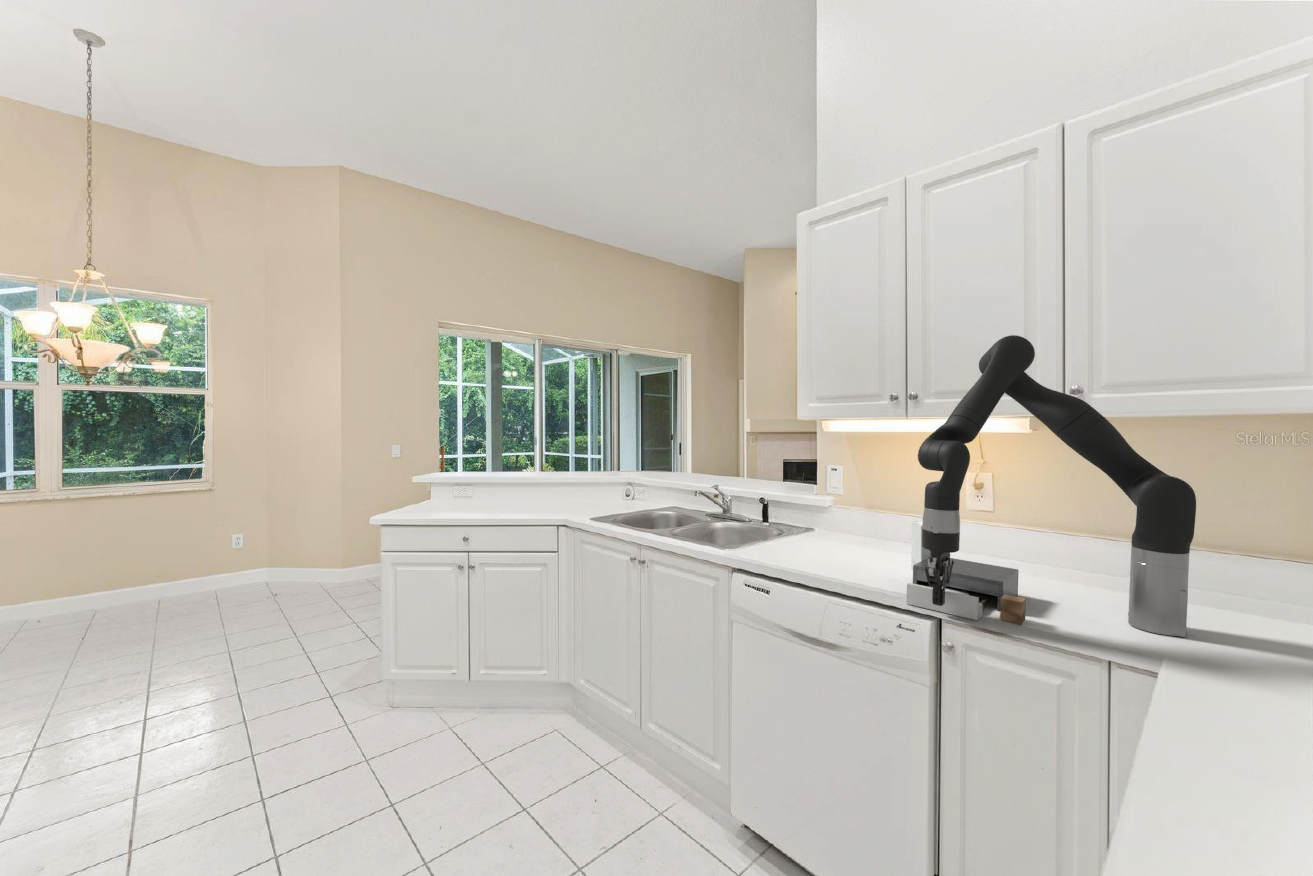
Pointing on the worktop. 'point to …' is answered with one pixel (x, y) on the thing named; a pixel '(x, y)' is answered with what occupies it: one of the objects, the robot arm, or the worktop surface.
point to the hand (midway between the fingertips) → (938, 604)
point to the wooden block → (1012, 609)
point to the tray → (949, 601)
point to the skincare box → (917, 544)
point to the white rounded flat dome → (956, 591)
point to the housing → (975, 578)
